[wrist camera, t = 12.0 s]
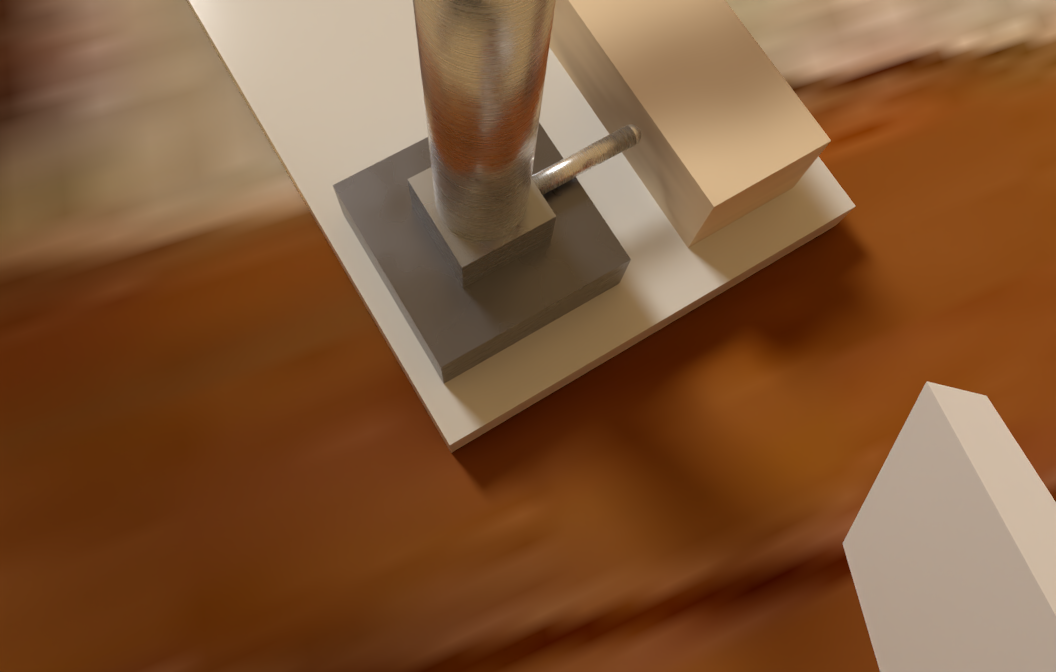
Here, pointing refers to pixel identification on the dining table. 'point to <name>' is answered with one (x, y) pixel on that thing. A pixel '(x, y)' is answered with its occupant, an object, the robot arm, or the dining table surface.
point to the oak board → (689, 104)
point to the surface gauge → (484, 192)
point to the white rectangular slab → (400, 121)
